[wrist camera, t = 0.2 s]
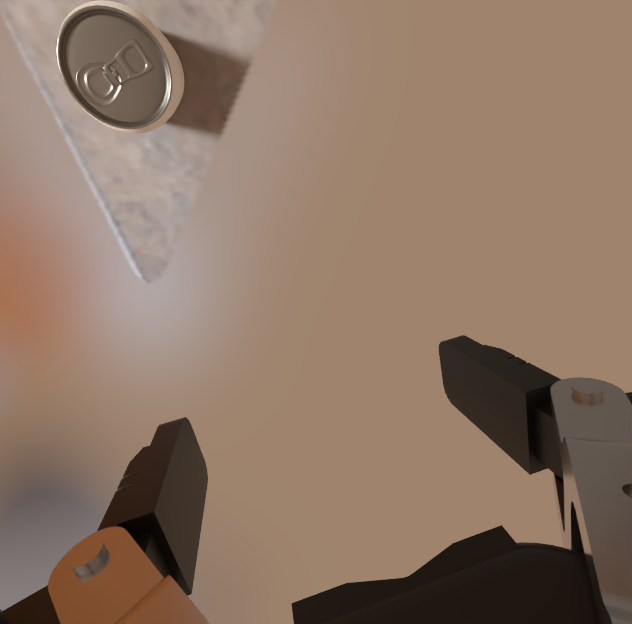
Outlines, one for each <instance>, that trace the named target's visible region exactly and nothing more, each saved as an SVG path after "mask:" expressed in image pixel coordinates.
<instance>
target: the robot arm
mask: <svg viewBox="0 0 632 624" xmlns="http://www.w3.org/2000/svg"><path fill="white" fill-rule="evenodd" d="M439 355H440V363H441V370H442V378H443V385H444V389H445V393H446V395H447V397H448V399H449V400H450V402H451V403H452V404H453V405H454V406H455V407H456V408H457V409H458V410H459V411H461V413H462V414H464V415H465V416H466V417H467V418H468V419H469V420H470V421H471V422H472V423H474V424H475V425H476V426H477V427H478V428H479V429H480V430H482V432H484V433H485V434H486V435H487V436H488V437H489V438H490V439H491V440H492V441H493V442H494V443H496V444H497V445H498V446H499V447H500V448H501V449H502V450H503V451H504V452H506V453H507V454H508V455H509V456H510V457H511V458H512V459H513V460H514V461H516V462H517V463H518V464H519V465H520V466H521V467H522V468H523V469H524V470H525V471H527V472H528V473H529V474H533V473H536V472H539V471H542V470H544V469H547V468H549V469H550V470H551V471H552V472H553V483H554V490H555V497H556V502H557V509H558V515H559V522H560V528H561V534H562V540H563V547H564V548H562V547H558V546H553V545H547V544H539V543H516V542H515V541H514V540H513V539H512V537H511V536H510V535H509V534H508V533H507V531H506V530H505V529H504V528H503V527H502V526H499V527H496V528H493V529H491V530H488V531H485V532H482V533H480V534H477V535H474V536H472V537H469V538H466V539H464V540H461V541H458V542H456V543H453V544H452V545H450V546H449V547H448V548H446V549H445V550H444V551H442V552H441V553H440V554H438V555H437V556H436V557H434V558H433V559H432V560H430V561H429V562H428V563H426V564H425V565H423V566H422V567H421V568H420V569H418V570H417V571H416V572H414V573H413V574H411V575H410V576H408V577H405V578H399V579H388V580H377V581H367V582H366V581H365V582H354V583H346V584H343V585H340V586H337V587H335V588H332V589H330V590H327V591H324V592H321V593H319V594H316V595H313V596H311V597H308V598H305V599H302V600H300V601H297V602H294V603H292V611H293V619H294V624H632V392H630V393H624V391H623V390H622V389H620V388H619V387H617V386H615V385H613V384H611V383H608V382H605V381H601V380H597V379H592V378H568V379H563V380H561V379H559V378H557V377H555V376H553V375H551V374H549V373H548V372H546V371H543V370H542V369H540V368H538V367H536V366H534V365H532V364H530V363H526V361H524V360H522V359H520V358H518V357H515V356H514V355H512V354H511V353H509V352H507V351H505V350H503V349H499V348H496V347H491V346H487V345H481V344H480V343H478V342H476V341H474V340H472V339H470V338H468V337H467V336H459V337H456V338H452V339H449V340H446V341H442V342H441V343H440V344H439ZM207 482H208V475H207V468H206V464H205V460H204V458H203V455H202V453H201V450H200V447H199V444H198V442H197V439H196V436H195V434H194V431H193V429H192V426H191V424H190V422H189V420H188V419H187V418H186V417H184V418H181V419H178V420H175V421H171V422H168V423H164V424H161V425H159V426H158V428H157V430H156V433H155V435H154V438H153V440H152V442H151V445H150V446H147V447H144V448H142V450H141V451H140V452H139V453H138V454H137V455H136V456H135V457H134V458H133V459H132V460H131V461H130V463H129V465H128V467H127V469H126V471H125V474H124V476H123V479H122V480H121V482H120V484H119V486H118V488H117V489H118V491H116V493H115V495H114V497H113V499H112V501H111V503H110V506H109V507H108V509H107V511H106V514H105V516H104V518H103V520H102V522H101V524H100V526H99V529H98V531H97V532H95V533H93V534H91V535H89V536H88V537H86V538H85V539H83V540H82V541H80V542H79V543H78V544H76V545H75V546H74V547H73V548H72V549H70V550H69V551H68V552H67V553H66V554H65V555H64V557H63V558H62V559H61V560H60V561H59V562H58V564H57V565H56V567H55V568H54V570H53V571H52V573H51V575H50V578H49V581H48V585H47V586H46V587H44V588H42V589H41V590H39V591H37V592H35V593H34V594H32V595H30V596H28V597H27V598H25V599H23V600H21V601H20V602H18V603H16V604H14V605H13V606H11V607H9V608H7V609H6V610H4V611H1V610H0V624H210V623H209V622H208V621H207V619H206V618H205V617H204V616H203V615H202V613H201V612H200V611H199V610H198V609H197V607H196V606H195V605H194V604H193V602H192V601H191V600H190V599H189V598H188V596H187V595H190V594H192V587H193V580H194V573H195V567H196V560H197V552H198V546H199V539H200V532H201V525H202V518H203V511H204V504H205V497H206V490H207Z"/></svg>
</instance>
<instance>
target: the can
mask: <svg viewBox="0 0 632 624" xmlns="http://www.w3.org/2000/svg"><path fill="white" fill-rule="evenodd" d="M56 53H57V62H58V67H59V70H60V73H61V76H62V78H63V81H64V83H65V85H66V87H67V88H68V90H69V92H70V93H71V95H72V96H73V98H74V99H75V100H76V101H77V103H78V104H79V105H80V106H81V107H82V108H83V109H84V110H85V111H86V112H87V113H88V114H89V115H90V116H92V117H93V118H94V119H96V120H97V121H99V122H100V123H102V124H104V125H106V126H108V127H110V128H112V129H115V130H118V131H122V132H127V133H143V132H148V131H152V130H154V129H156V128H158V127H160V126H162V125H163V124H164V123H165V122H167V121H168V120H169V119H170V117H171V116H172V115H173V113H174V112H175V110H176V109H177V107H178V105H179V103H180V101H181V99H182V96H183V92H184V73H183V68H182V65H181V62H180V59H179V57H178V55H177V53H176V52H175V50H174V48H173V47H172V45H171V44H170V43H169V41H168V40H167V39H166V37H165V36H164V35H163V34H162V32H161V31H160V30H159V29H158V28H157V27H156V26H155V25H154V24H153V23H152V22H151V21H150V20H149V19H147V18H146V17H145V16H144V15H142V14H141V13H139V12H138V11H136V10H134V9H132V8H130V7H128V6H126V5H123V4H120V3H117V2H112V1H92V2H88V3H85V4H82V5H80V6H78V7H77V8H75V9H74V10H73V11H72V12H71V13H70V14H69V15H68V16H67V17H66V18H65V20H64V21H63V23H62V25H61V28H60V30H59V34H58V38H57V47H56Z"/></svg>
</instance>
